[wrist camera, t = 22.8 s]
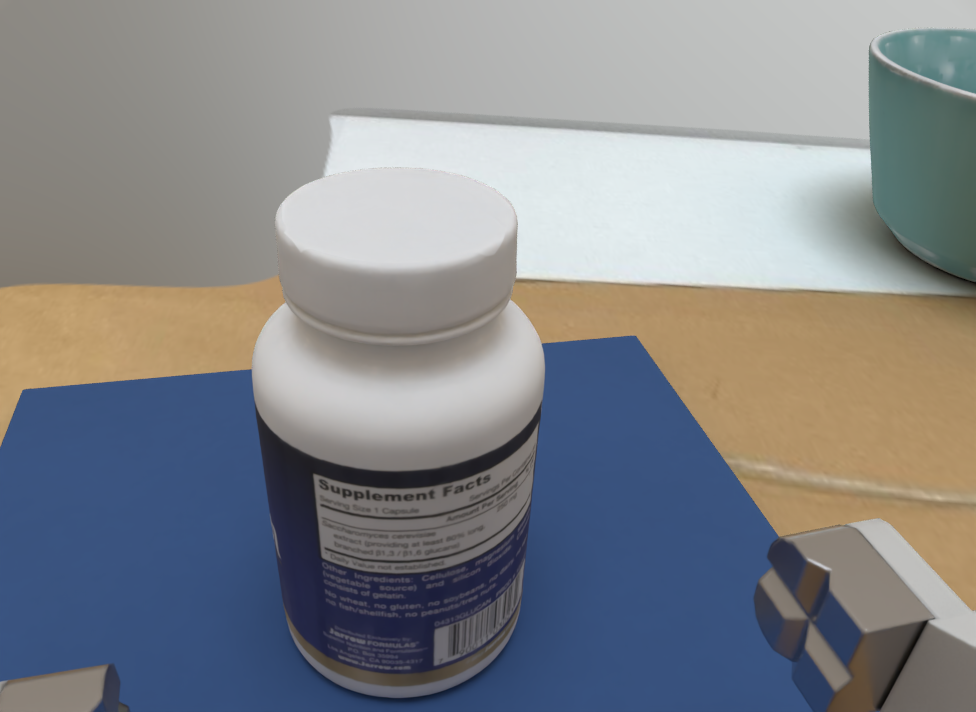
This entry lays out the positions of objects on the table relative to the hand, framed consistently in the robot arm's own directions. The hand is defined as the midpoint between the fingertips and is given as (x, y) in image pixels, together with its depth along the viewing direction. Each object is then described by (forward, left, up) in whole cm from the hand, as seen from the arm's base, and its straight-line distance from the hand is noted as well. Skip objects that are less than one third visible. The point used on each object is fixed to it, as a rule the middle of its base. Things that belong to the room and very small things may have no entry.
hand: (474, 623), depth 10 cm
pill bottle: (0, +6, -7) cm, 10 cm away
